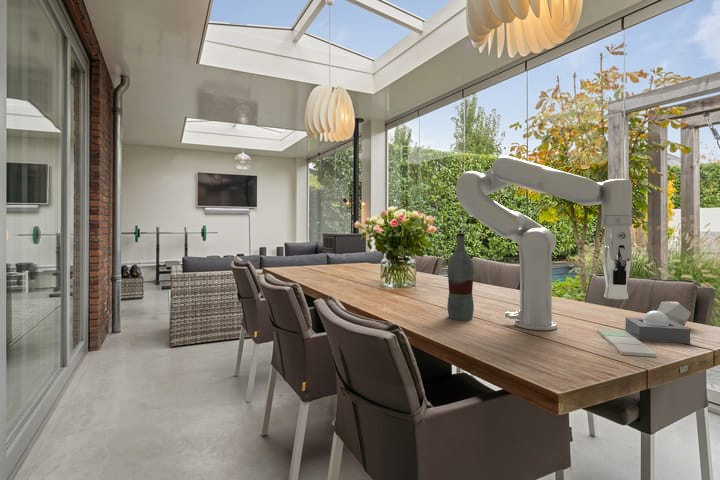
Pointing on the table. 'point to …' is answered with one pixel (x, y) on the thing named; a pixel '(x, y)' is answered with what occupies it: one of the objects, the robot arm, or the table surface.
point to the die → (675, 312)
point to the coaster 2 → (622, 340)
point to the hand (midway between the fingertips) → (615, 282)
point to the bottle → (460, 283)
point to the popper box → (658, 331)
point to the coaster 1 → (613, 333)
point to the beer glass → (608, 267)
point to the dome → (656, 318)
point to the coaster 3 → (634, 350)
